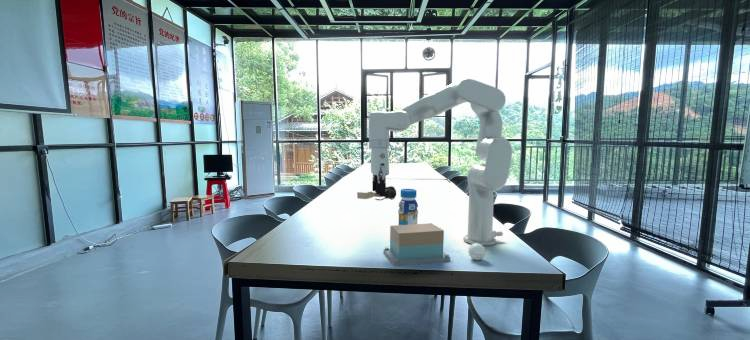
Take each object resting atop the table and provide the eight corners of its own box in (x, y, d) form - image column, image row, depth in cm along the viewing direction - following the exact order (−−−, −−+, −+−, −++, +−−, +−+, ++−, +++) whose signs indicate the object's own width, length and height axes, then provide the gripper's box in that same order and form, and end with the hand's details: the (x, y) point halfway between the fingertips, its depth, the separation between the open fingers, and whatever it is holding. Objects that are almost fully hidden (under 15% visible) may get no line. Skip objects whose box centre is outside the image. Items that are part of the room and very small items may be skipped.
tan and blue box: (434, 248, 123) (434, 222, 122) (450, 260, 110) (451, 231, 109) (383, 252, 118) (383, 225, 117) (394, 265, 105) (394, 235, 104)
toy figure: (356, 202, 120) (397, 200, 120) (355, 185, 120) (396, 183, 120) (358, 201, 127) (396, 199, 127) (357, 185, 127) (395, 183, 127)
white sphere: (465, 259, 111) (466, 243, 110) (472, 255, 115) (472, 240, 115) (487, 265, 106) (488, 248, 106) (493, 260, 110) (494, 244, 110)
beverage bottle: (398, 232, 144) (399, 188, 142) (417, 233, 143) (418, 188, 141) (397, 238, 135) (397, 190, 134) (417, 239, 134) (418, 191, 132)
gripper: (395, 145, 113) (395, 195, 115) (382, 144, 130) (382, 188, 132) (374, 145, 112) (374, 196, 113) (364, 144, 128) (364, 189, 130)
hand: (378, 191), depth 123 cm, fingers closed on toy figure, 6 cm apart
